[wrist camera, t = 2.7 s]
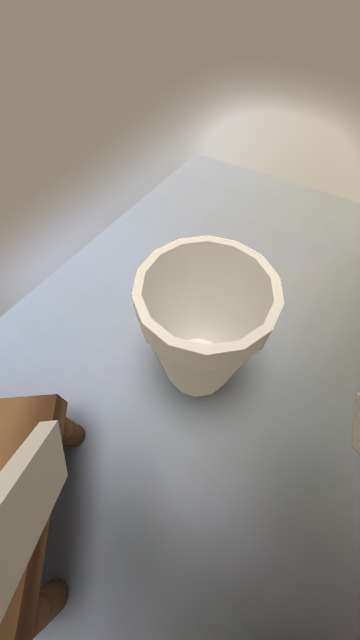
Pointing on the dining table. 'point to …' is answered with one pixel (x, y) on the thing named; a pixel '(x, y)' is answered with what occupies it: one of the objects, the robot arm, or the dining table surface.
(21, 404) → the stool
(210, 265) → the foam cup
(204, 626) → the dining table surface
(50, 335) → the dining table surface
